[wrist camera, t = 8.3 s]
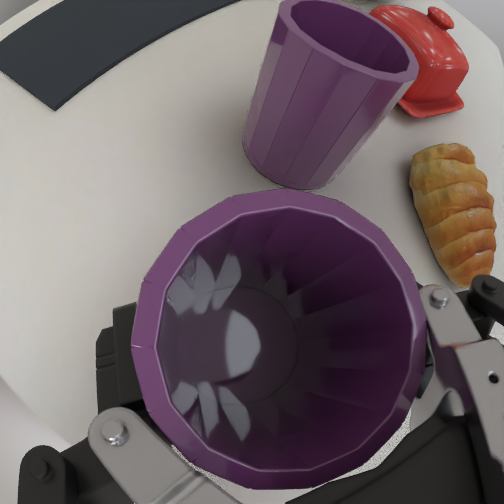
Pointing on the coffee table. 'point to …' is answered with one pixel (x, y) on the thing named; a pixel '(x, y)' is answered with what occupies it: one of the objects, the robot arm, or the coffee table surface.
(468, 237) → the pastry
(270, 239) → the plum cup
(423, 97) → the butter dish
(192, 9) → the mat
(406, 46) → the plum cup side
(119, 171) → the coffee table surface
